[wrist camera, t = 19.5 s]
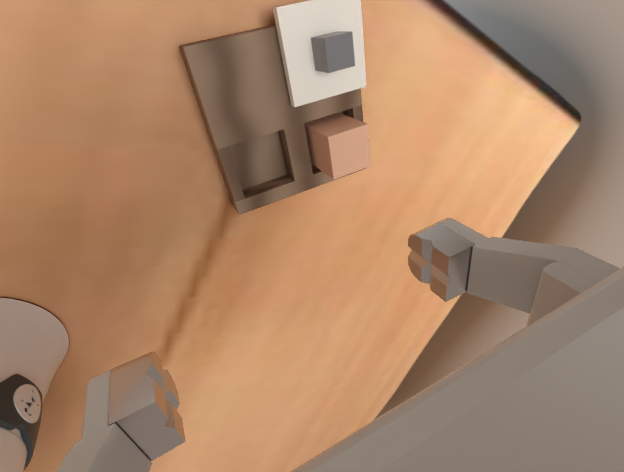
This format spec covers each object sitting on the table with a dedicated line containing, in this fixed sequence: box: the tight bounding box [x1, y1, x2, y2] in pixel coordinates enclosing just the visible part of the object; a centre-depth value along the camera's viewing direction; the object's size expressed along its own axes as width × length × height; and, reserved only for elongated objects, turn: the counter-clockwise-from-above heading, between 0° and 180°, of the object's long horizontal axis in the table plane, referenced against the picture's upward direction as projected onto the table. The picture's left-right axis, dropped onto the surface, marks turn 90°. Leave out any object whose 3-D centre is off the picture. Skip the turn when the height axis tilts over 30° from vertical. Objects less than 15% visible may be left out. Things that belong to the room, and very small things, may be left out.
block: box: [304, 113, 371, 179], centre depth 41 cm, size 5×5×7 cm
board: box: [179, 25, 366, 215], centre depth 40 cm, size 18×18×4 cm
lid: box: [273, 0, 366, 107], centre depth 35 cm, size 9×9×4 cm
